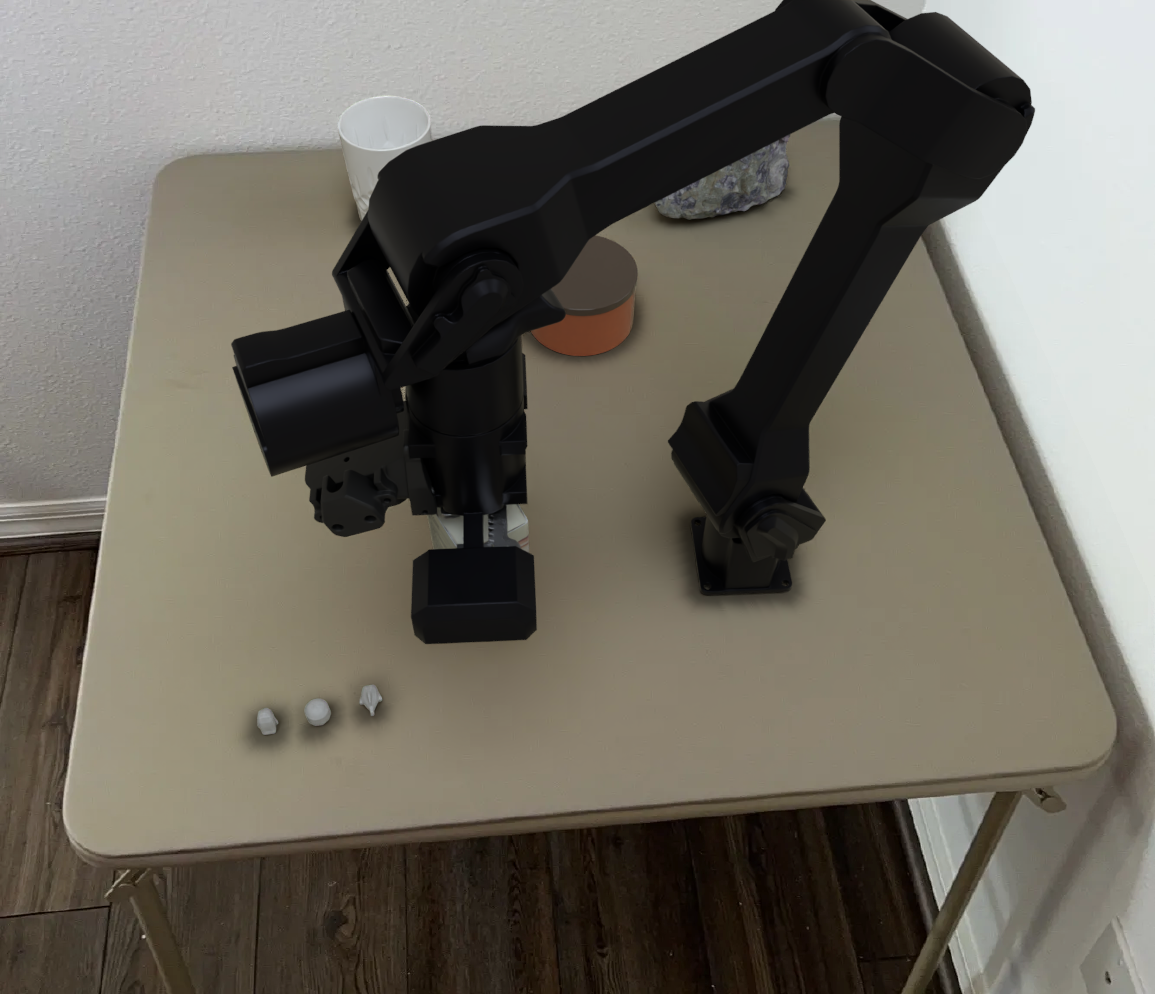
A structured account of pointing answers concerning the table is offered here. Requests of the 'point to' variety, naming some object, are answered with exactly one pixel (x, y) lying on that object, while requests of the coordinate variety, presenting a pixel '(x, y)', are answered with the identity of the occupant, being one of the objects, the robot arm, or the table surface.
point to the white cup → (378, 139)
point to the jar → (594, 301)
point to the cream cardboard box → (451, 529)
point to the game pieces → (318, 710)
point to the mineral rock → (732, 186)
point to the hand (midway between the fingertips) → (482, 568)
